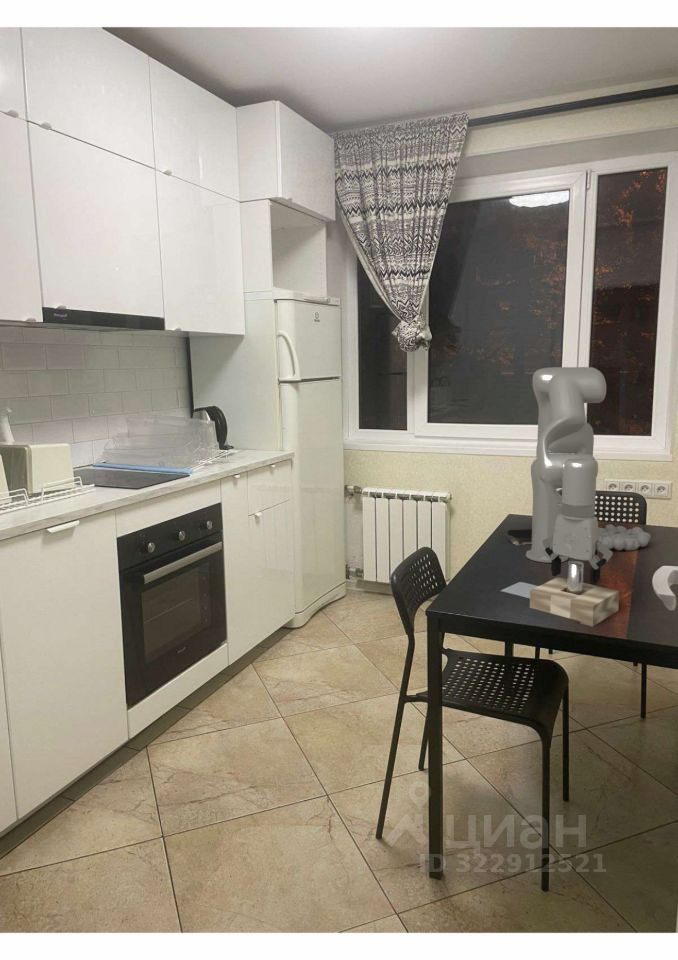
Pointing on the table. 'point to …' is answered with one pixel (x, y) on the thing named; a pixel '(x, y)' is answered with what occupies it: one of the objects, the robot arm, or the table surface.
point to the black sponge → (520, 536)
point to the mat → (520, 589)
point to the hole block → (575, 601)
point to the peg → (575, 577)
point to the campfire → (623, 537)
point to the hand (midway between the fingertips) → (574, 579)
